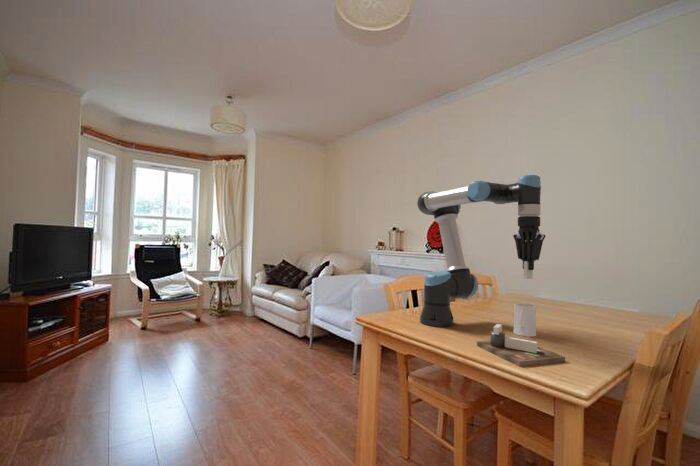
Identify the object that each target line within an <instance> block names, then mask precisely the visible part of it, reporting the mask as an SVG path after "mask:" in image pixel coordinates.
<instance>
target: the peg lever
mask: <svg viewBox="0 0 700 466" xmlns="http://www.w3.org/2000/svg"><path fill="white" fill-rule="evenodd" d="M489 340H490V345H492V346H494V347H501V348H502V347H507V348H512V349H517V350H522V351H527V352H533V353H538V354H543V355H545V352H540V351H537V346H538V341H534V340H527V339H523V338H516V337H512V336H506V334H505V332H503V324H502V323H501V324H499V323H497V324H495V325H494V326H493V330H491V331H490V339H489Z"/></svg>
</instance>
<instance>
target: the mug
mask: <svg viewBox="0 0 700 466" xmlns="http://www.w3.org/2000/svg"><path fill="white" fill-rule="evenodd" d="M512 332H513V333H514V335H517V336H521V337H528V338H533V337H536V336H537V305H534V304H532V303H524V302H515V303H514V304H513V330H512Z"/></svg>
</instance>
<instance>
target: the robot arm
mask: <svg viewBox="0 0 700 466" xmlns="http://www.w3.org/2000/svg"><path fill="white" fill-rule="evenodd" d="M541 183H542V182H541V177H540V176H539V175H536V174H525V175H524V174H523V175H520V176H518V179H517V182H515V183H510V184H506V183H505V184H504V183H495V182H488V181H483V180H474V181H472V182H470V184H468V185H464V186H459V187H455V188H450V189H445V190H441V191H433V190H431V191H426V192H423V193H421V194H420V195H419V197H418V198H417V200H416V201H417V202H416V203H417V208H418V210H419V211H420V213H423V214H424V215H428V216H433V217H434V221H435V223H437V224H438V228H439V233H440V239H441V243H442V248H443V252H444V259H445V263H446V270H444V271H443V270H440V271H439V270H438V271H431V272H430V271H429V272H427V273H426V274H425V276H424V280H423V284H424V285H423V286H424V288H423V289H424V290H423V291H424V292H423V306H422V309H421V312H420V316H419V323H421V324H423V325H426V326H431V327H438V328H439V327H440V328H443V327H452V326H454V323H455V320H454V316H453V313H452V310H451V300H458V299H460V300H461V299H462V300H463V299H470V298H473V297H474V295H476V293H477V291H478V290H479V289H478V288H479V282H478V278H477V276H475V275H474V274H473V273H471V269H470V267H468V266H466V263H465V257H464V252H463V250H462V249H463V248H462V244H461V238H460V234H459V230H458V225H457V219H458V218H459V214H460V212H461V211H460V209H461V207H462V206H461V205H466V204H467V205H468V204H473V203H481V202H482V203H483V202H490V203H493V204H496V205H505V204H511V203H512V204H513V203H517V215H518V217H517V226H518V231H517V232H518V233H516V234H513V239H514V241H515V248H516V253H517V259H519V260H521V261H522V270H523V279H525V280H531V279H533V272H534V270H535V268H534V267H535V262H536V261H539V260H540V257H541V251H542V247H543V242H544V240H545V238H546V234H543V233H541V232H540V229H539V227H540V226H541V217H540V215H541V191H542V185H541Z"/></svg>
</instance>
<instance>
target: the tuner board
mask: <svg viewBox="0 0 700 466" xmlns="http://www.w3.org/2000/svg"><path fill="white" fill-rule="evenodd" d="M476 346H477V347H479V348H481V349H482V350H485V351H487V352H489V353H491V354H493V355H495V356H497V357H499V358H501V359H504V360H506V361H508V362H509V363H511V364H513V365H515V366H518V367H528V366H537V365H538V364H539V365H547V364H554V363H555V364H556V363H565V362H566V356H563V355H561V354H558V353H556V352H553V351H551V350H548V349H547V348H546V349H545V348H543V347H540V346H538V345H537V351H540V352H545V355H543V354H538V353H533V352H527V351H522V350H517V349H512V348H507V347H502V348H501V347H494V346H492V345H490V339H489V340H477V341H476Z"/></svg>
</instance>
